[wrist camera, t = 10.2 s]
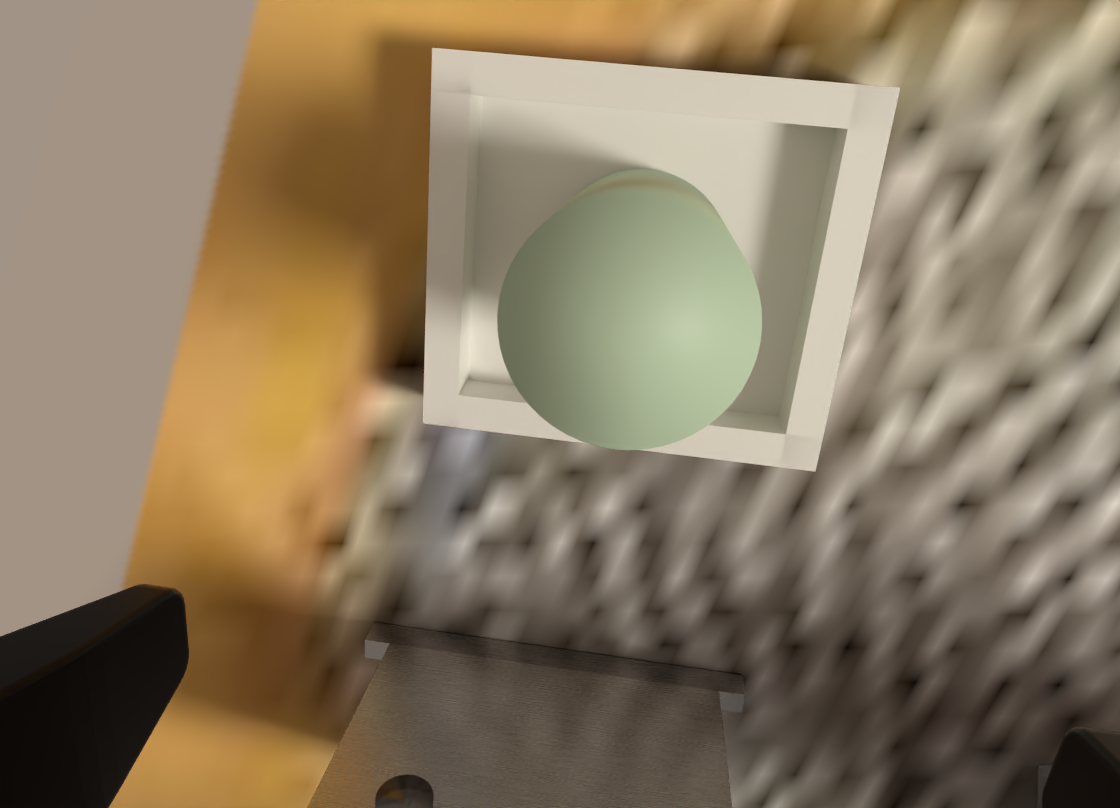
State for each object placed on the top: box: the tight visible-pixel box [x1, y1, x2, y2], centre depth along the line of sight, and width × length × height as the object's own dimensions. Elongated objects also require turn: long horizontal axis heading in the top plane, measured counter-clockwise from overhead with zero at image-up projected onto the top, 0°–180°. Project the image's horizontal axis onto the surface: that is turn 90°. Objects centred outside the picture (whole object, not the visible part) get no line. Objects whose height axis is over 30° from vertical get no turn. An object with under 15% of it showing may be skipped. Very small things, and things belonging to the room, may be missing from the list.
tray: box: [423, 48, 900, 471], centre depth 17 cm, size 9×8×2 cm
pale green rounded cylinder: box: [497, 169, 762, 450], centre depth 15 cm, size 4×4×6 cm
